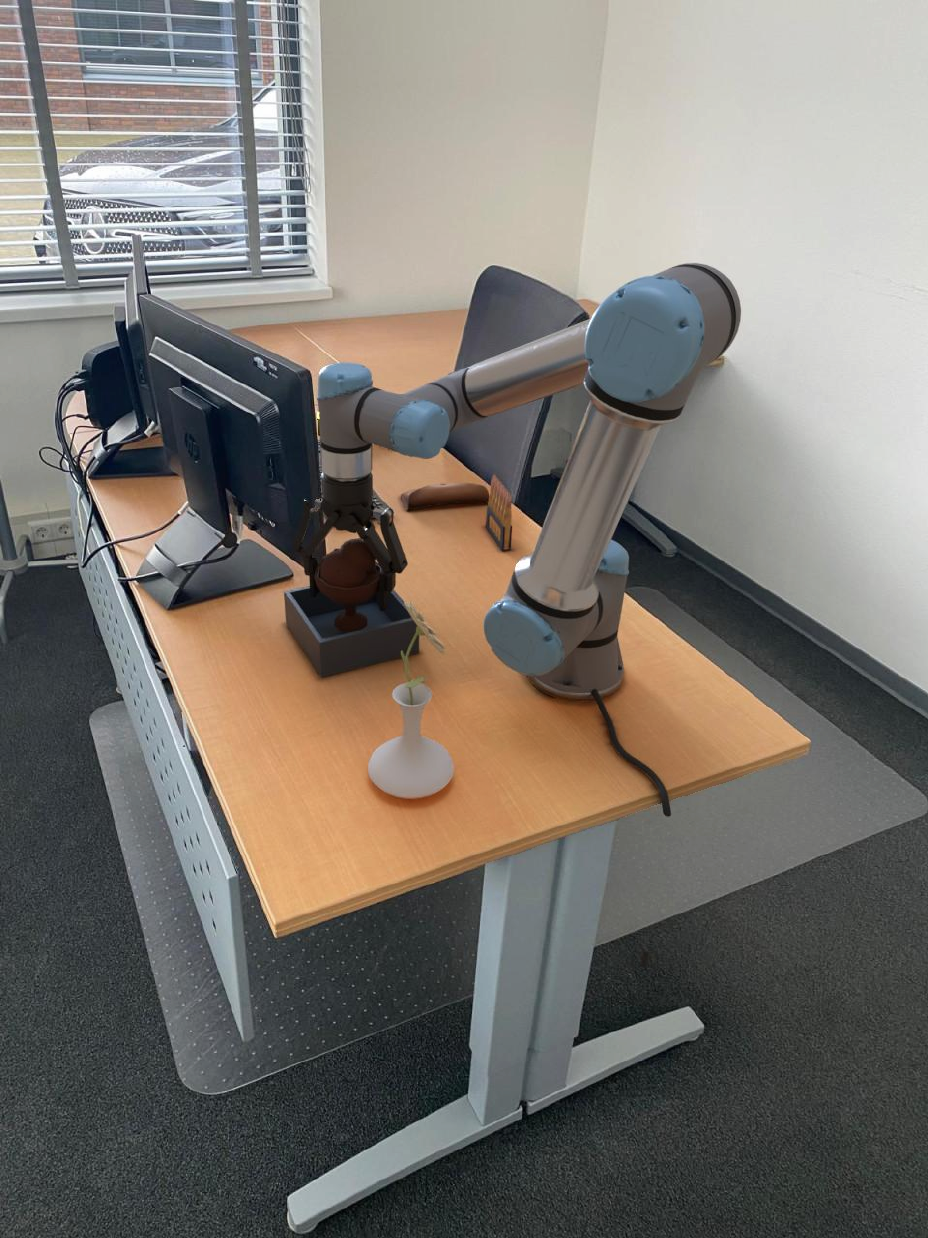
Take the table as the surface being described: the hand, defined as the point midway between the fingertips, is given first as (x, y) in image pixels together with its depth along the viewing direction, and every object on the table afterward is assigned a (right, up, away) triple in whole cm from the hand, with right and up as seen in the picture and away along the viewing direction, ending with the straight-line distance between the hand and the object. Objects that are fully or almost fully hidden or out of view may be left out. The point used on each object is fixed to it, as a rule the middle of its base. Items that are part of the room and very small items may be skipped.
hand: (350, 599), depth 145 cm
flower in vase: (+11, -24, -23) cm, 35 cm away
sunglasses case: (+14, +22, +50) cm, 57 cm away
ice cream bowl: (0, -4, +2) cm, 5 cm away
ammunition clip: (+25, +13, +36) cm, 46 cm away
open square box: (0, -6, +4) cm, 7 cm away
